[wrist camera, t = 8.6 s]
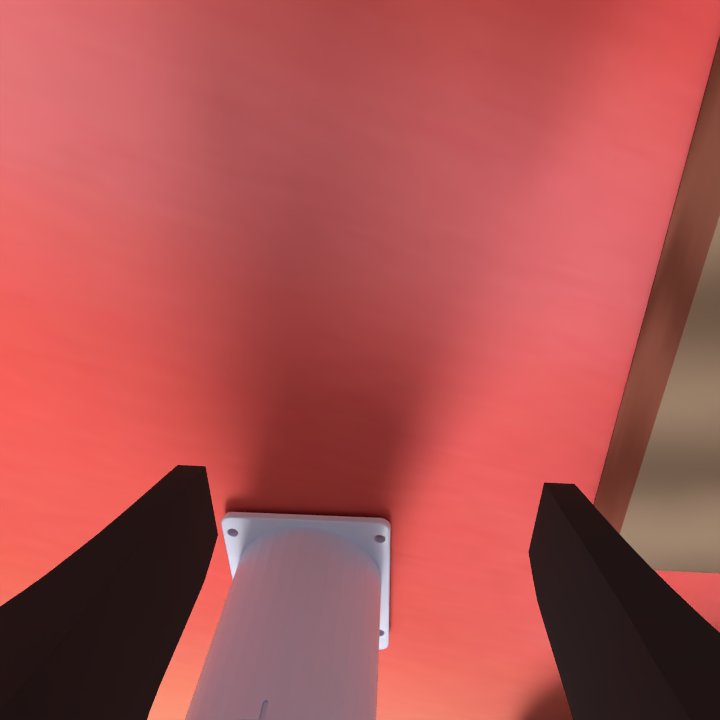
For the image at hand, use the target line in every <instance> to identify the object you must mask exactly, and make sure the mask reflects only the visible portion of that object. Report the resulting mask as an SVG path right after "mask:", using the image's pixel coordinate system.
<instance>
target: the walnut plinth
mask: <svg viewBox="0 0 720 720" xmlns="http://www.w3.org/2000/svg"><path fill="white" fill-rule="evenodd" d="M594 506H595V507H596V509H597V510H598V511H599V512H600V513H601V514H602V515H603V516H604V517H605V519H606V520H607V521H608V522H609V523H610V524H611V525H612V526H613V527H614V528H615V530H616V531H617V532H618V533H619V534H620V535H621V536H622V537H623V538H624V539H625V540H626V542H627V543H628V544H629V545H630V546H631V547H632V548H633V549H634V550H635V551H636V552H637V553H638V554H639V555H640V556H641V557H642V558H643V559H644V561H645V562H646V563H647V564H648V565H649V566H650V567H651V568H652V569H653V570H659V571H681V572H702V573H720V39H719V43H718V46H717V50H716V54H715V58H714V61H713V65H712V69H711V72H710V76H709V80H708V84H707V87H706V91H705V95H704V98H703V102H702V106H701V109H700V113H699V117H698V121H697V124H696V128H695V132H694V135H693V139H692V143H691V147H690V150H689V154H688V158H687V161H686V165H685V169H684V172H683V176H682V180H681V184H680V187H679V191H678V195H677V198H676V202H675V206H674V210H673V213H672V217H671V221H670V224H669V228H668V232H667V235H666V239H665V243H664V247H663V250H662V254H661V258H660V261H659V265H658V269H657V273H656V276H655V280H654V284H653V287H652V291H651V295H650V298H649V302H648V306H647V310H646V313H645V317H644V321H643V324H642V328H641V332H640V336H639V339H638V343H637V347H636V350H635V354H634V358H633V361H632V365H631V369H630V373H629V376H628V380H627V384H626V387H625V391H624V395H623V399H622V402H621V406H620V410H619V413H618V417H617V421H616V424H615V428H614V432H613V436H612V439H611V443H610V447H609V450H608V454H607V458H606V462H605V465H604V469H603V473H602V476H601V480H600V484H599V487H598V491H597V495H596V499H595V502H594Z"/></svg>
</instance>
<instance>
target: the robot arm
mask: <svg viewBox="0 0 720 720" xmlns="http://www.w3.org/2000/svg"><path fill="white" fill-rule="evenodd" d="M221 525H222V530H223V535H224V540H225V545H226V549H227V554H228V559H229V564H230V569H231V574H232V579H233V581H232V584H231V587H230V590H229V593H228V595H227V598H226V601H225V604H224V607H223V610H222V613H221V616H220V619H219V622H218V625H217V628H216V630H215V633H214V636H213V639H212V642H211V645H210V648H209V651H208V654H207V657H206V660H205V663H204V666H203V668H202V671H201V674H200V677H199V680H198V683H197V686H196V689H195V692H194V695H193V698H192V701H191V703H190V706H189V709H188V712H187V715H186V718H185V720H376V706H377V682H378V657H379V650H380V649H385V648H386V647H388V645H389V596H390V530H391V526H390V523H389V522H388V520H386V519H384V518H372V517H348V516H323V515H299V514H275V513H250V512H228V513H226V514H225V515H224V516H223V518H222V521H221ZM233 529H235V530H233ZM377 535H382V536H377ZM217 536H218V533H217V527H216V522H215V516H214V511H213V505H212V500H211V495H210V489H209V484H208V478H207V473H206V467H205V466H186V465H178V466H176V467H175V468H174V469H173V470H172V471H170V472H169V473H168V474H167V475H166V476H165V477H164V478H162V479H161V480H160V481H159V482H158V483H157V484H156V485H154V486H153V487H152V488H151V489H150V490H149V491H148V492H146V493H145V494H144V495H143V496H142V497H141V498H140V499H138V500H137V501H136V502H135V503H134V504H133V505H132V506H130V507H129V508H128V509H127V510H126V511H125V512H123V513H122V514H121V515H120V516H119V517H118V518H116V519H115V520H114V521H113V522H112V523H110V524H109V525H108V526H107V527H106V528H104V529H103V530H102V531H101V532H100V533H99V534H97V535H96V536H95V537H94V538H92V539H91V540H90V541H88V542H87V543H86V544H85V545H83V546H82V547H81V548H80V549H78V550H77V551H76V552H74V553H73V554H72V555H71V556H69V557H68V558H67V559H66V560H64V561H63V562H62V563H60V564H59V565H58V566H57V567H55V568H54V569H53V570H51V571H50V572H49V573H47V574H46V575H45V576H43V577H42V578H41V579H39V580H38V581H36V582H35V583H34V584H32V585H31V586H29V587H28V588H27V589H25V590H24V591H22V592H21V593H19V594H18V595H17V596H15V597H14V598H12V599H11V600H9V601H8V602H6V603H5V604H3V605H2V606H0V720H147V718H148V715H149V712H150V709H151V706H152V704H153V701H154V699H155V696H156V693H157V691H158V688H159V686H160V683H161V681H162V679H163V676H164V674H165V672H166V670H167V667H168V665H169V663H170V660H171V658H172V656H173V653H174V651H175V649H176V646H177V644H178V642H179V639H180V637H181V635H182V632H183V630H184V628H185V625H186V623H187V621H188V618H189V616H190V614H191V611H192V609H193V607H194V604H195V602H196V600H197V597H198V595H199V593H200V590H201V588H202V585H203V583H204V580H205V577H206V574H207V571H208V567H209V564H210V561H211V558H212V554H213V550H214V547H215V543H216V540H217ZM529 557H530V563H531V569H532V575H533V580H534V586H535V591H536V596H537V601H538V604H539V608H540V611H541V615H542V618H543V621H544V625H545V628H546V631H547V635H548V638H549V641H550V644H551V648H552V651H553V654H554V657H555V661H556V664H557V667H558V670H559V674H560V677H561V680H562V683H563V687H564V690H565V693H566V696H567V700H568V703H569V706H570V709H571V713H572V716H573V719H574V720H720V633H719V632H718V631H717V630H716V629H715V628H714V627H713V626H712V625H710V624H709V623H708V622H707V621H706V620H705V619H704V618H703V617H702V616H701V615H700V614H698V613H697V612H696V611H695V610H694V609H693V608H692V607H691V606H690V605H689V604H688V603H687V602H686V601H685V600H684V599H683V598H682V597H681V596H679V595H678V594H677V593H676V592H675V591H674V590H673V589H672V588H671V587H670V586H669V585H668V584H667V583H666V582H665V581H664V580H663V579H662V578H661V577H660V576H659V575H658V574H657V573H656V572H655V571H654V570H653V569H652V568H651V567H650V566H649V565H648V564H647V563H646V562H645V561H644V559H643V558H642V557H641V556H640V555H639V554H638V553H637V552H636V551H635V550H634V549H633V548H632V547H631V546H630V545H629V544H628V543H627V542H626V540H625V539H624V538H623V537H622V536H621V535H620V534H619V533H618V532H617V531H616V530H615V528H614V527H613V526H612V525H611V524H610V523H609V522H608V521H607V520H606V519H605V517H604V516H603V515H602V514H601V513H600V512H599V511H598V510H597V509H596V507H595V506H594V505H593V504H592V503H591V502H590V501H589V500H588V499H587V497H586V496H585V495H584V494H583V493H582V492H581V491H580V490H579V489H578V488H577V486H576V485H575V484H562V483H544V486H543V490H542V495H541V499H540V504H539V508H538V513H537V517H536V522H535V526H534V530H533V535H532V539H531V544H530V548H529Z"/></svg>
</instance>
